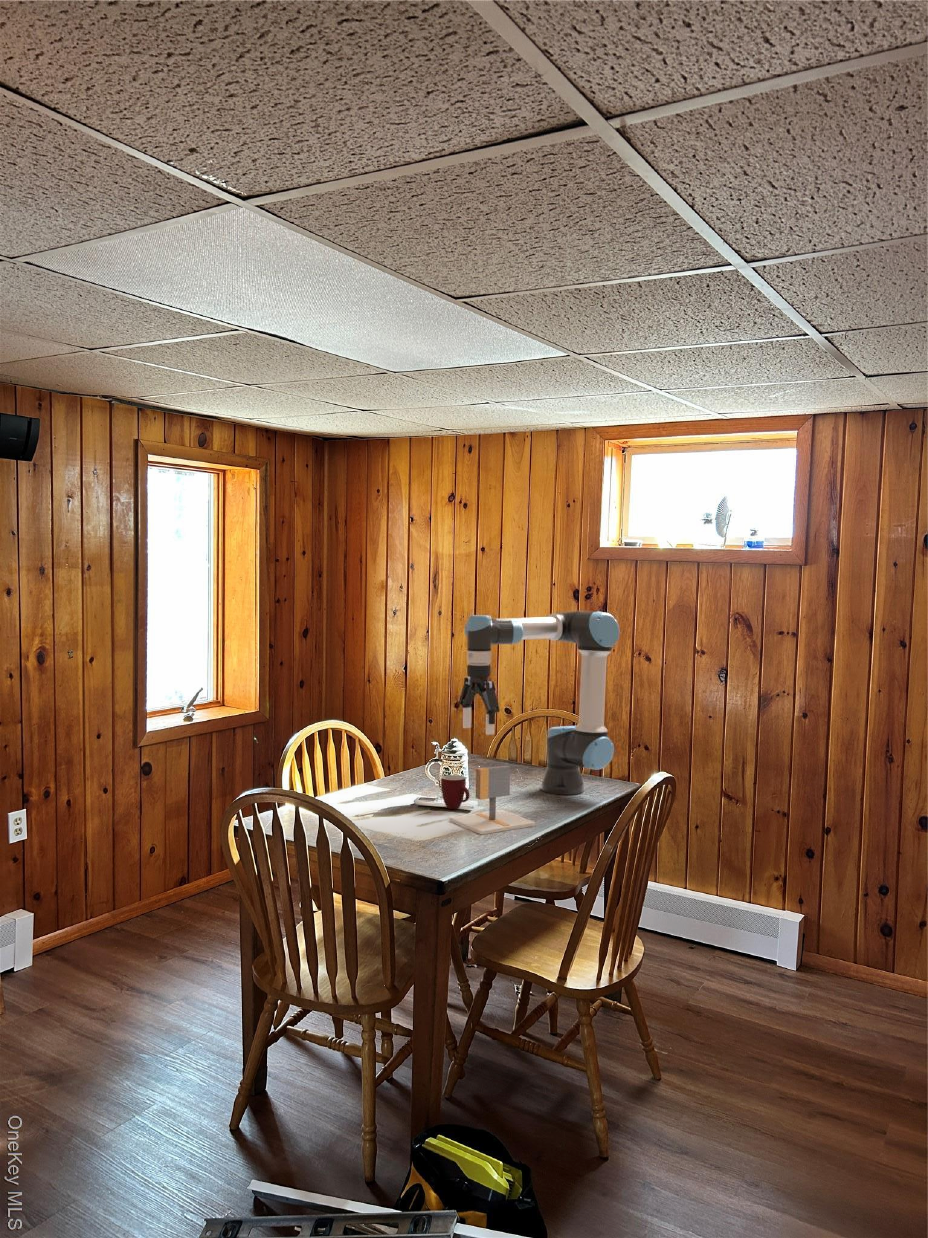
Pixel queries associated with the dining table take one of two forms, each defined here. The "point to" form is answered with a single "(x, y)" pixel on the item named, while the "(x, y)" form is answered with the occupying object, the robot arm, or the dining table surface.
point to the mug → (454, 790)
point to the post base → (492, 820)
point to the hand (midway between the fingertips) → (478, 731)
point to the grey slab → (492, 782)
